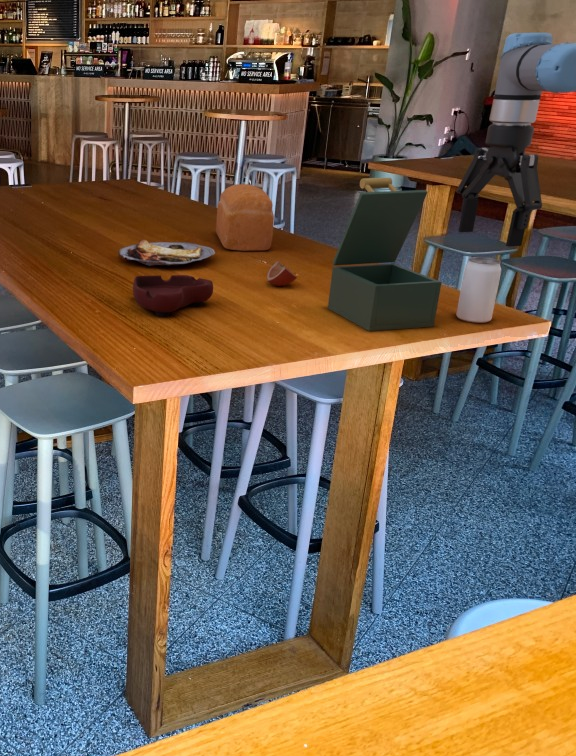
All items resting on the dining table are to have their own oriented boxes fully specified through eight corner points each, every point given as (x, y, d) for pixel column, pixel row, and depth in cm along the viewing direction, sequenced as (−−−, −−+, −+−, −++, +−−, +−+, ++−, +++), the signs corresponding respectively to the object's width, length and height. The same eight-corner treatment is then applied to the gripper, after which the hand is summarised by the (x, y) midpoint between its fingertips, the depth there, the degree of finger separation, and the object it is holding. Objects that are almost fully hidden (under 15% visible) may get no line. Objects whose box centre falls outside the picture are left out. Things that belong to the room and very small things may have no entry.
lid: (428, 192, 154) (408, 170, 159) (362, 194, 151) (345, 172, 156) (394, 262, 166) (378, 240, 171) (333, 265, 163) (318, 243, 169)
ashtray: (160, 290, 181) (161, 268, 179) (219, 303, 170) (220, 281, 169) (107, 305, 170) (107, 282, 168) (166, 321, 159) (168, 297, 157)
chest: (433, 326, 155) (441, 282, 152) (369, 331, 152) (375, 285, 149) (387, 304, 170) (393, 263, 166) (327, 308, 167) (332, 266, 164)
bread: (222, 251, 219) (226, 193, 213) (214, 232, 243) (217, 180, 238) (273, 252, 218) (278, 193, 212) (259, 233, 242) (264, 180, 236)
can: (492, 317, 161) (504, 259, 156) (489, 325, 156) (501, 265, 151) (458, 312, 164) (468, 255, 159) (453, 320, 159) (464, 261, 154)
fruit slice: (262, 280, 189) (264, 259, 187) (291, 280, 189) (293, 260, 187) (269, 289, 181) (271, 268, 180) (299, 289, 181) (301, 268, 179)
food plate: (103, 263, 206) (103, 249, 205) (140, 246, 225) (141, 234, 224) (194, 274, 195) (195, 260, 194) (225, 256, 214) (226, 243, 212)
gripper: (582, 128, 135) (554, 251, 143) (483, 119, 158) (463, 225, 166) (544, 129, 134) (517, 253, 142) (450, 119, 157) (431, 227, 165)
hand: (488, 238), depth 154 cm, fingers open, 13 cm apart
